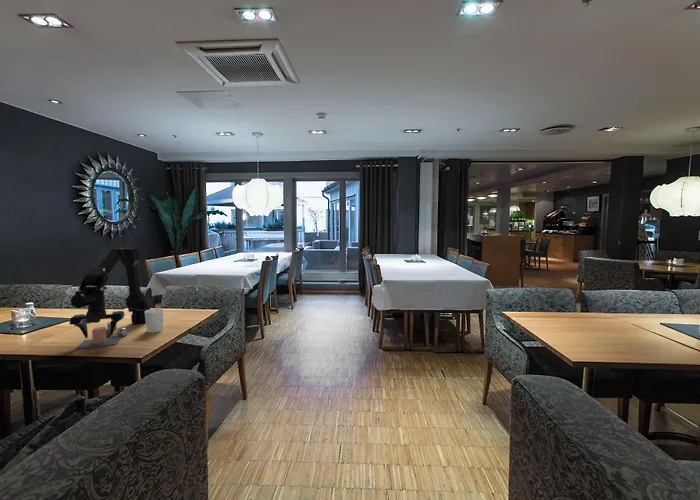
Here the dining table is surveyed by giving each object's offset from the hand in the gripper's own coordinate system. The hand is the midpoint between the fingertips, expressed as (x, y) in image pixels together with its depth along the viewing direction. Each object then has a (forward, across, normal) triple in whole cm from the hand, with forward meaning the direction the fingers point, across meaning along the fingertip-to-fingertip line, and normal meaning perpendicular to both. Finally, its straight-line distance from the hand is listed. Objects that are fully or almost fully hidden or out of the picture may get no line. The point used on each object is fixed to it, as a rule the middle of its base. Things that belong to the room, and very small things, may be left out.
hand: (99, 336), depth 152 cm
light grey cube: (+3, +7, +8) cm, 11 cm away
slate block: (+3, 0, +20) cm, 20 cm away
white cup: (+3, +20, +10) cm, 23 cm away
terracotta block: (+2, 0, 0) cm, 2 cm away
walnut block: (+3, 0, +8) cm, 9 cm away
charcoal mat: (+3, 0, 0) cm, 3 cm away
